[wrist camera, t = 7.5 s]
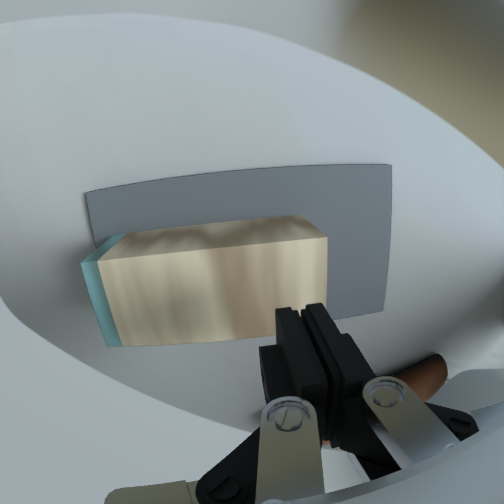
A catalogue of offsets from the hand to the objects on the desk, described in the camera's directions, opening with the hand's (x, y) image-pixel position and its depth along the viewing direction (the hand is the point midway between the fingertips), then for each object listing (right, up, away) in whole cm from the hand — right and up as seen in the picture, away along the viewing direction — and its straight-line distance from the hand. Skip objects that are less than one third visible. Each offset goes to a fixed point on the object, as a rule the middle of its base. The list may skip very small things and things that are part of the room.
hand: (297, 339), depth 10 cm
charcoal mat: (-2, +3, +9) cm, 10 cm away
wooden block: (+2, +2, +6) cm, 7 cm away
